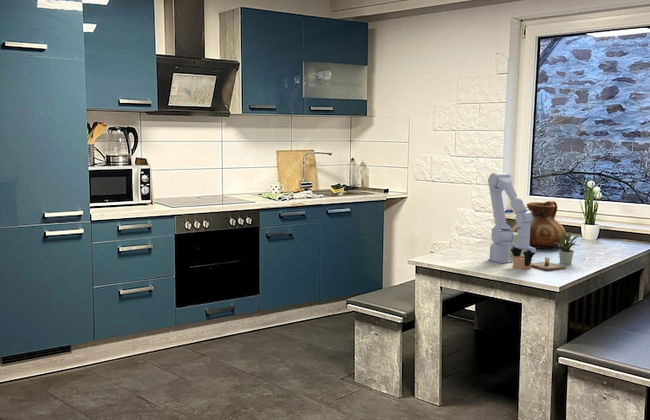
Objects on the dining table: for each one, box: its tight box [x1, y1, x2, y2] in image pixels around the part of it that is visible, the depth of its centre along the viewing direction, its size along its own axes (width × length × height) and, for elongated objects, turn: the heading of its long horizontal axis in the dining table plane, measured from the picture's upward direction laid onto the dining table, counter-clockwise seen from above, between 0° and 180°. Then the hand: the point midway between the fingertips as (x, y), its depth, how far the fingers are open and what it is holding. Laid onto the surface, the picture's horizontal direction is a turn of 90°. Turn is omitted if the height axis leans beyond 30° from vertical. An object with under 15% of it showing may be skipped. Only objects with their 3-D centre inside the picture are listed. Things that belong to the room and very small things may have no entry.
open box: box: [512, 256, 533, 270], centre depth 314 cm, size 6×6×5 cm
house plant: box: [556, 230, 582, 265], centre depth 324 cm, size 14×14×16 cm
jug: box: [511, 200, 568, 249], centre depth 370 cm, size 30×30×25 cm
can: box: [509, 232, 526, 258], centre depth 343 cm, size 9×9×12 cm
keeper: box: [531, 257, 567, 272], centre depth 315 cm, size 12×12×5 cm
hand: (522, 264), depth 315 cm, fingers closed on open box, 6 cm apart
